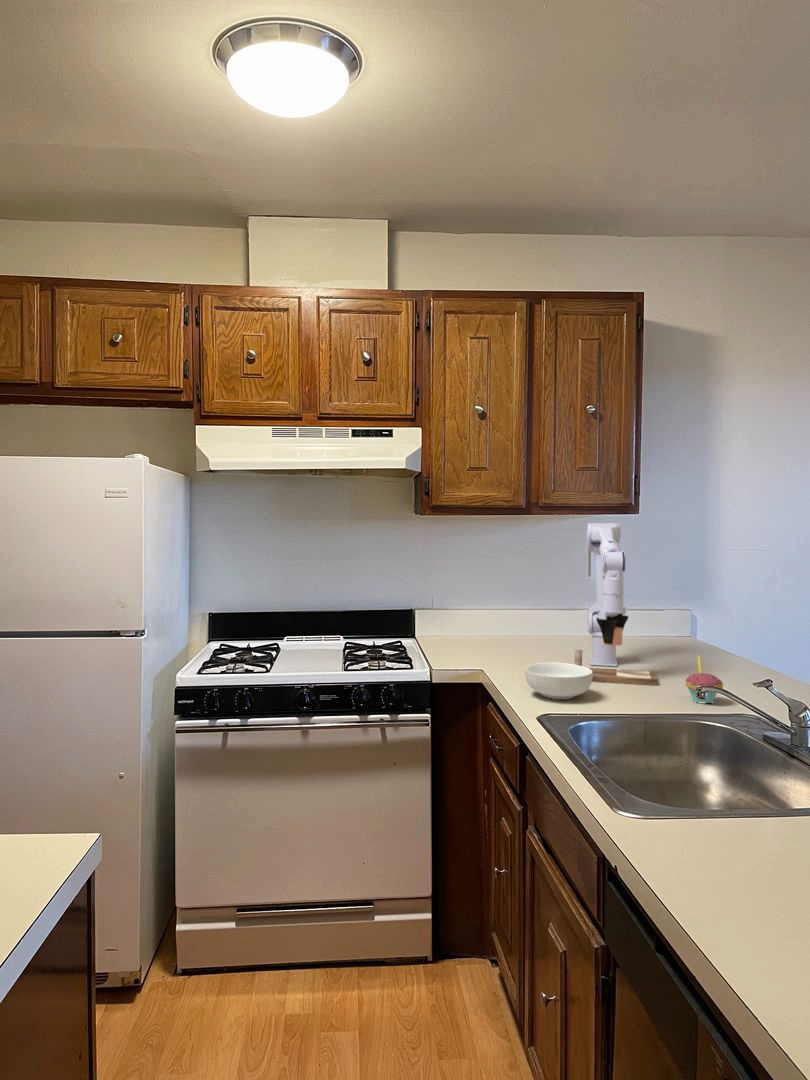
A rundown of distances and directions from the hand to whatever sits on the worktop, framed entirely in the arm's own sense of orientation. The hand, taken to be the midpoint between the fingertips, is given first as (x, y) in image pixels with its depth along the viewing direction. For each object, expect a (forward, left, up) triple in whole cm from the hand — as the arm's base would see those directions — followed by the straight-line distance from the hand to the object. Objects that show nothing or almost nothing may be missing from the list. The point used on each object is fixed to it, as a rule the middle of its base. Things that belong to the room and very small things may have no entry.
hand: (612, 642), depth 202 cm
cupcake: (+20, +22, -11) cm, 31 cm away
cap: (0, 0, 0) cm, 0 cm away
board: (0, -2, -10) cm, 11 cm away
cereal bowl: (+24, -13, -11) cm, 29 cm away
